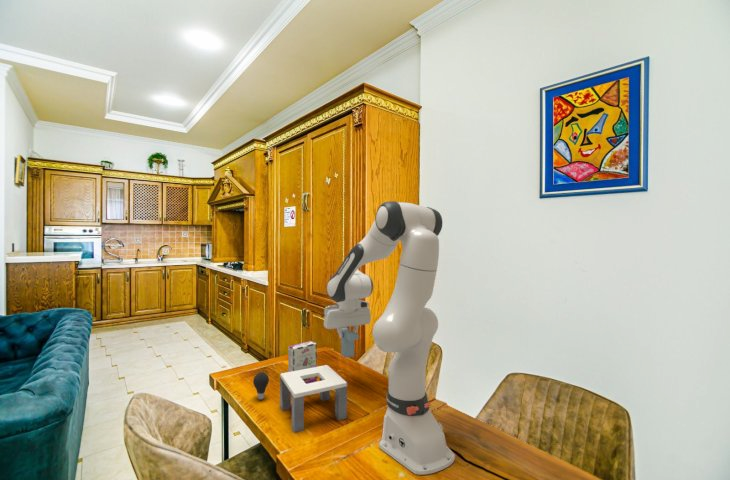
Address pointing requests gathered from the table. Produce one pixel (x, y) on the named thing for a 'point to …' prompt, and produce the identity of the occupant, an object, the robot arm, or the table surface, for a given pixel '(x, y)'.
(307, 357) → the candy bar box
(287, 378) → the cutout shelf
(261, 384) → the light bulb
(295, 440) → the table surface
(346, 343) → the peg
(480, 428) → the table surface
